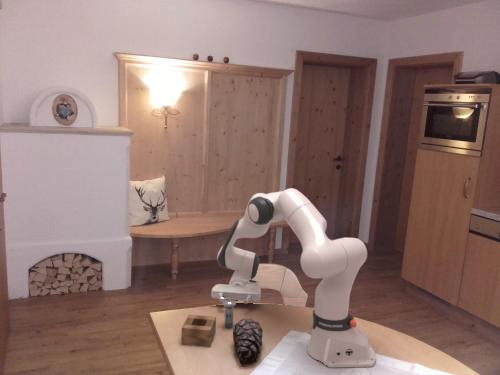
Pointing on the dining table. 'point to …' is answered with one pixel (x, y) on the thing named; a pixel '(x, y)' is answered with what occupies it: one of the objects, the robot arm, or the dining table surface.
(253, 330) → the pine cone
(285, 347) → the dining table surface
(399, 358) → the dining table surface
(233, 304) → the pin
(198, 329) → the socket block
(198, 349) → the dining table surface
